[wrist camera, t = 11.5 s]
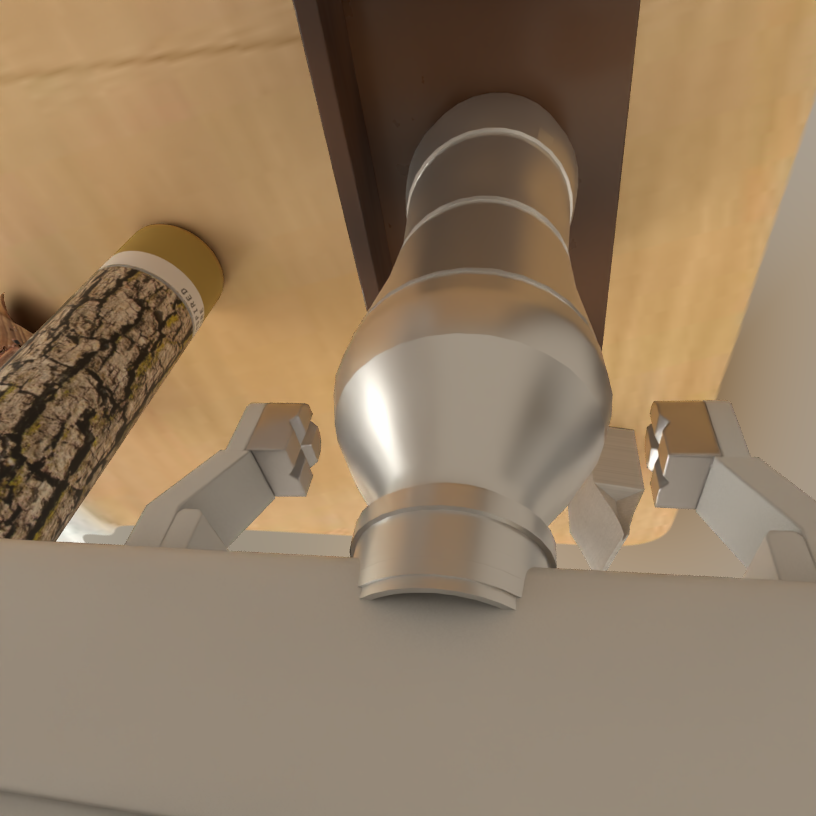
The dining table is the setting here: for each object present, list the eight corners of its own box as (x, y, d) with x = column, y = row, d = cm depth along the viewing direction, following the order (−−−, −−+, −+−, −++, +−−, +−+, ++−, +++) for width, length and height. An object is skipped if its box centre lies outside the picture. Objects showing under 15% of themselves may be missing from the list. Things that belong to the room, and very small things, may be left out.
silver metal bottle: (398, 213, 26) (243, 661, 12) (444, 48, 21) (271, 474, 7) (531, 257, 26) (536, 736, 12) (606, 106, 21) (755, 611, 7)
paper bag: (566, 475, 50) (572, 577, 43) (587, 423, 45) (598, 529, 38) (608, 481, 50) (620, 585, 43) (633, 430, 45) (653, 537, 38)
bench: (355, -128, 24) (265, -111, 16) (624, -185, 22) (682, -200, 14) (418, 275, 38) (387, 398, 30) (588, 267, 36) (606, 397, 27)
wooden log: (210, 219, 37) (-67, 550, 20) (239, 305, 42) (35, 632, 25) (117, 218, 38) (-223, 533, 21) (155, 302, 43) (-96, 615, 26)
